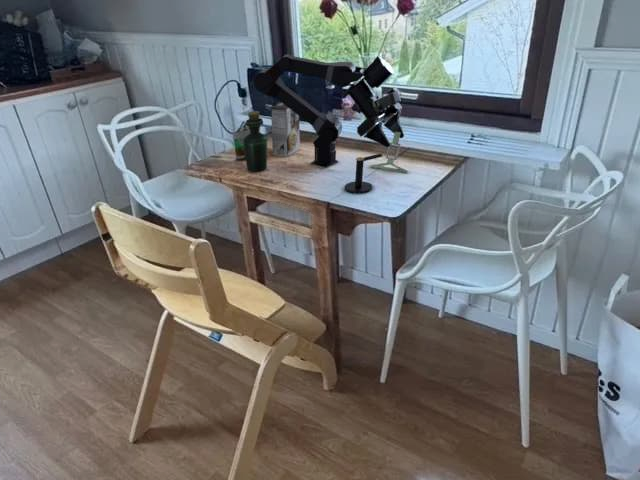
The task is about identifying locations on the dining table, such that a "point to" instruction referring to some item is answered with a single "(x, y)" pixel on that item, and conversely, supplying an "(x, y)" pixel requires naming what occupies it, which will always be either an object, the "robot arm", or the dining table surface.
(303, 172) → the dining table surface
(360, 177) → the black holder stand
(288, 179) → the dining table surface
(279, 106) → the coffee box
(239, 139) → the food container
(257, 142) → the potion bottle
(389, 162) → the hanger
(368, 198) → the dining table surface
